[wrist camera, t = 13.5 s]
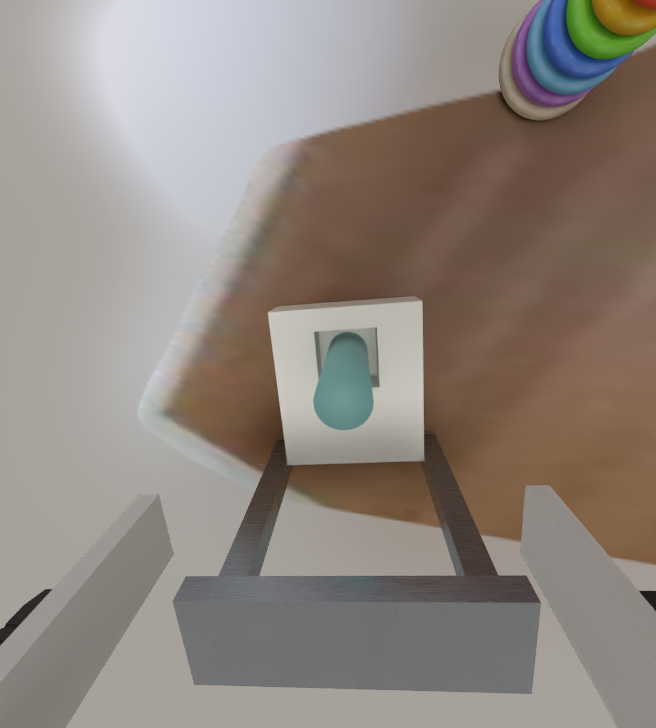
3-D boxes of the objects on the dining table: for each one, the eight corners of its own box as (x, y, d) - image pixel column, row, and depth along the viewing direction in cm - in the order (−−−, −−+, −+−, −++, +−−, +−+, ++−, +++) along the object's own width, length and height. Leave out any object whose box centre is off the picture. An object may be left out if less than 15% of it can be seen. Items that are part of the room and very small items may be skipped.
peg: (327, 333, 37) (310, 375, 23) (366, 330, 36) (372, 372, 23) (330, 370, 38) (316, 431, 25) (368, 368, 38) (374, 428, 24)
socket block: (277, 306, 37) (267, 312, 33) (414, 295, 36) (422, 300, 32) (294, 443, 42) (287, 465, 38) (417, 439, 41) (424, 460, 36)
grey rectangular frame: (273, 413, 41) (172, 601, 18) (435, 405, 39) (540, 602, 17) (279, 459, 43) (194, 684, 20) (435, 454, 41) (531, 693, 18)
